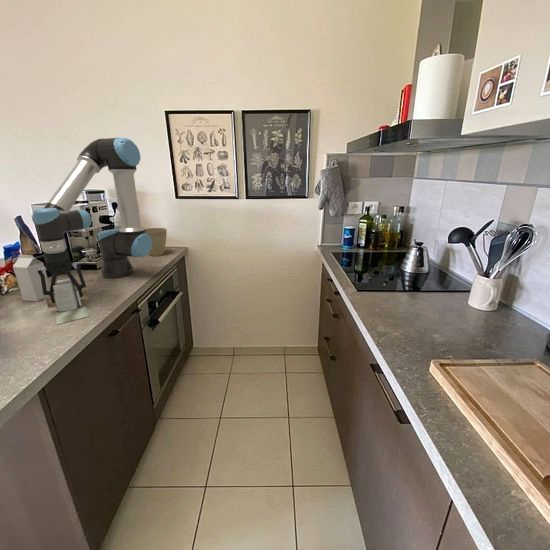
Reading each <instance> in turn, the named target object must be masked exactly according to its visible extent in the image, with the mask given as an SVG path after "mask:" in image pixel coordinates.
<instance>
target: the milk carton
mask: <svg viewBox="0 0 550 550" xmlns="http://www.w3.org/2000/svg"><path fill="white" fill-rule="evenodd" d="M12 268H13V271H14V274H15V275H14V276H15V278H16V280H17V284H18V287H19V291H20V293H21V297H22V300H23V301H27V302H39V301H41V300H44V299H45V298H48V297H50V296H49V295H43V290H42V283H41V277H40V275H39V274H38V269H42V268H45V264H44V262H43V261H41V260H38V259H37V258H36V257H34V255H33V254H32V255H29V254H28V255H27V254H18V258H17V259H16V261H15V263H14V265H12ZM46 271H47V270H46ZM46 271H45V272H46ZM44 276H45V282H46V288H47V291H50V285H51V284H50V283H49V282H50V281H49V279H48V275H47V272H46V273H45V274H44Z"/></svg>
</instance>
